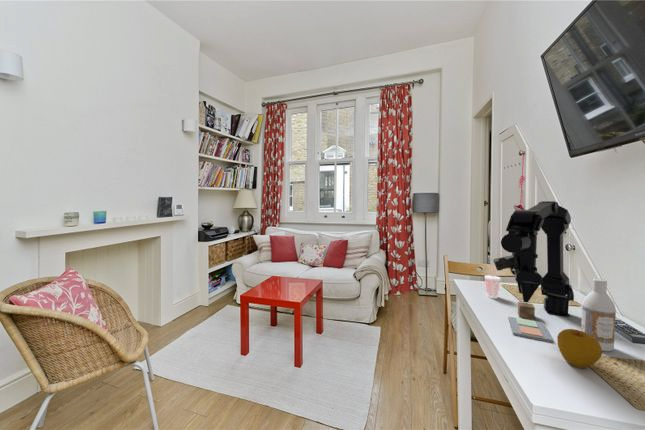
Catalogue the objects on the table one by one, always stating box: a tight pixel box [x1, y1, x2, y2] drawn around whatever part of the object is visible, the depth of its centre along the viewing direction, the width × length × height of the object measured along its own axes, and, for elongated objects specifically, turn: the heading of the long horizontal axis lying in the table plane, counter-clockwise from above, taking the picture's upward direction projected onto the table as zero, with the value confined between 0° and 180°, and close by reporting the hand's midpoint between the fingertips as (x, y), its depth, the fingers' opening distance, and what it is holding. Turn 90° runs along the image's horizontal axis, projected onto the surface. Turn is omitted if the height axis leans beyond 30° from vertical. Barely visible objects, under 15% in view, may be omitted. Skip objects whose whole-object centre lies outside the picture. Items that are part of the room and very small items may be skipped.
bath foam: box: [580, 278, 617, 352], centre depth 80 cm, size 7×7×20 cm
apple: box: [556, 328, 603, 369], centre depth 72 cm, size 8×8×9 cm
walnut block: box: [517, 301, 536, 321], centre depth 102 cm, size 4×4×4 cm
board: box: [507, 316, 554, 343], centre depth 91 cm, size 10×14×1 cm
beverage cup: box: [483, 265, 501, 299], centre depth 123 cm, size 6×6×14 cm
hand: (523, 297), depth 88 cm, fingers open, 9 cm apart
